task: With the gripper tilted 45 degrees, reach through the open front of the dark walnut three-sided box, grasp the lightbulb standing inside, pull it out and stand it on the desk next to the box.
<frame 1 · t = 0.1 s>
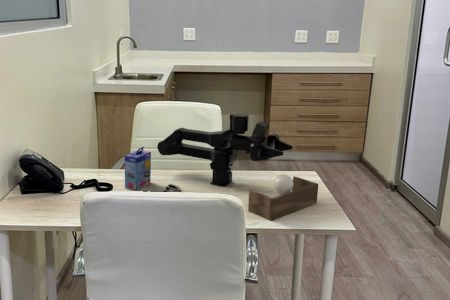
hand: (287, 150, 155), 17 cm above the table, tool horizontal, fingers open, 9 cm apart
open box: (282, 206, 150), on the table
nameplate: (164, 202, 152), on the table
lightbulb: (282, 207, 150), on the table
ink cartridge box: (138, 185, 166), on the table
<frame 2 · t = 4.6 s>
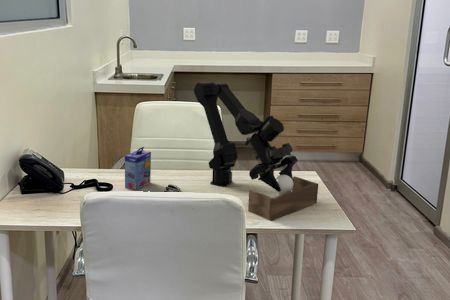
hand: (286, 189, 147), 7 cm above the table, tool tilted 45°, fingers closed on lightbulb, 6 cm apart
lightbulb: (282, 207, 150), on the table, touching gripper
everything else where it was.
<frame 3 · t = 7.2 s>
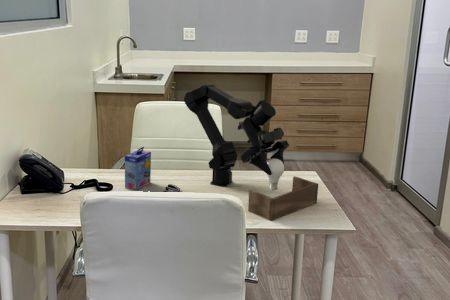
hand: (277, 172, 149), 11 cm above the table, tool tilted 45°, fingers closed on lightbulb, 6 cm apart
lightbulb: (273, 190, 152), point 4 cm above the table, touching gripper
everything else where it was.
when the fingers open (8 cm above the table, at t = 10.1 s): lightbulb drops 1 cm, on the table.
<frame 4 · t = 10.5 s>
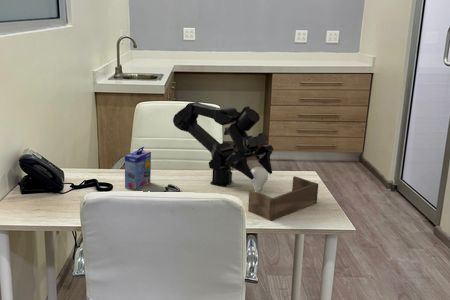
hand: (262, 176, 154), 8 cm above the table, tool tilted 45°, fingers open, 9 cm apart
lightbulb: (258, 197, 158), on the table
everything else where it was.
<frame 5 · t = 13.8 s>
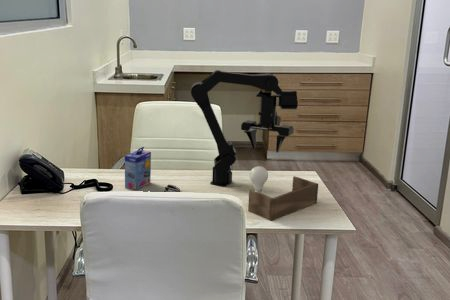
hand: (265, 150, 168), 13 cm above the table, tool pointing down, fingers open, 9 cm apart
nothing on the table moved.
at the end: lightbulb inside the target area (0.9 cm from its centre), on the table; lightbulb tilted 0°; the gripper is holding nothing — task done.
